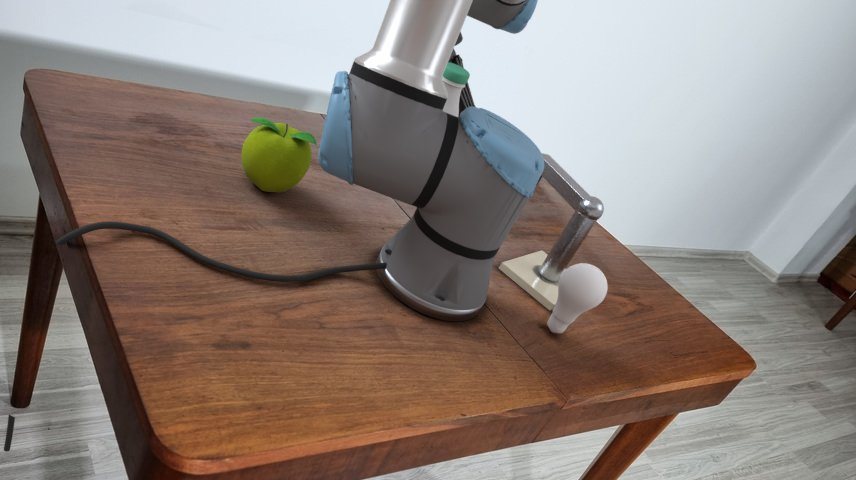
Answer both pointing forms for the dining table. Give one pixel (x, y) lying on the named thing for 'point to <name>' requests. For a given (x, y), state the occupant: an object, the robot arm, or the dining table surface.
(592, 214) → the spout
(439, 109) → the robot arm
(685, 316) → the dining table surface
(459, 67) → the milk bottle
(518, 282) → the faucet stand
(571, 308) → the lightbulb
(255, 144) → the fruit
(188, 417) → the dining table surface
